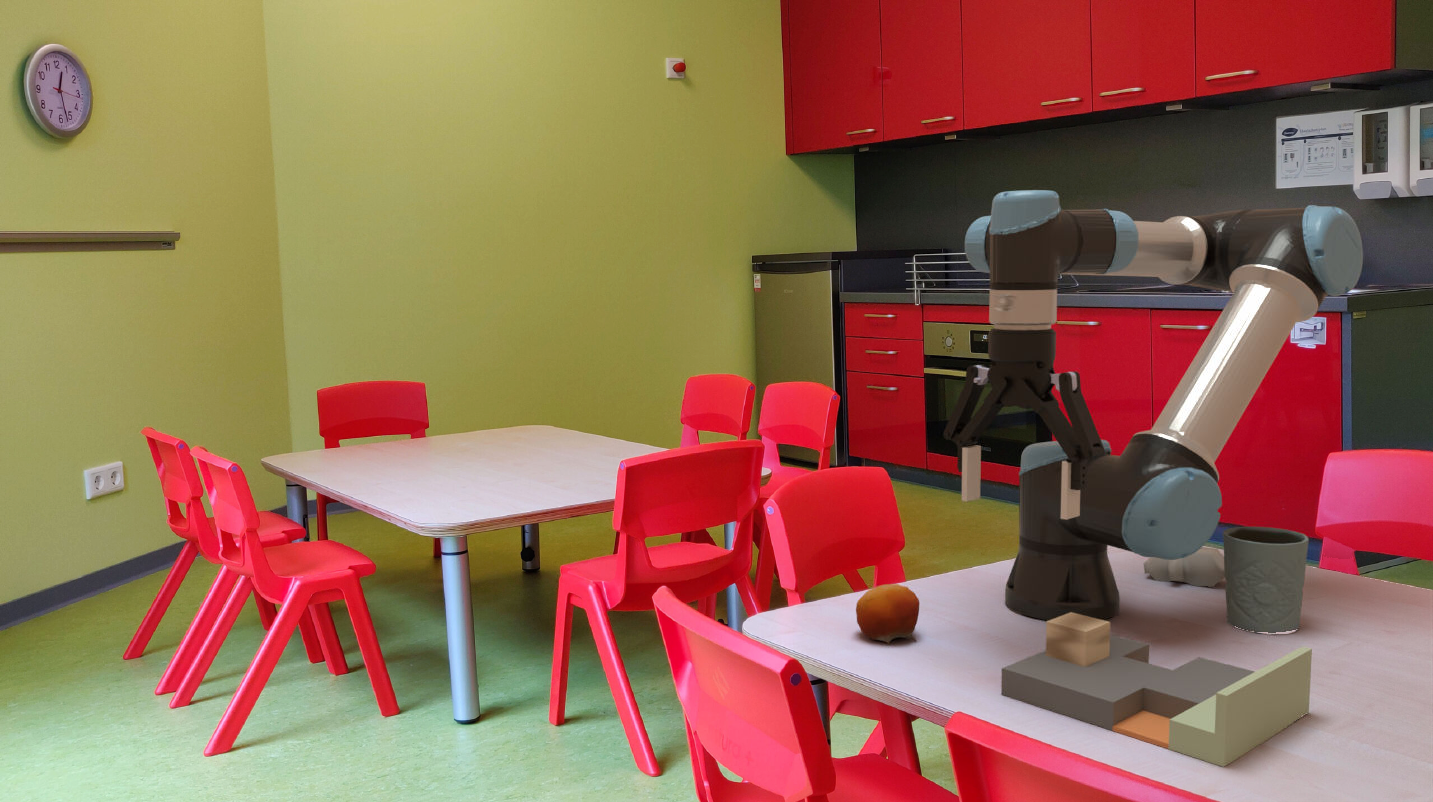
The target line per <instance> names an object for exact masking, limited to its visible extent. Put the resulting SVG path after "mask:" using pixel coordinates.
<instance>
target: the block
mask: <svg viewBox="0 0 1433 802" xmlns="http://www.w3.org/2000/svg"><path fill="white" fill-rule="evenodd" d="M1045 625H1046V627H1045V628H1046V633H1045V650H1046V656H1049V657H1052V658H1056V659H1059V660H1063V661H1066V662H1070V663H1073V664H1077V665H1080V666H1084V667H1086V666H1088V665H1091V664H1093V663H1095V662H1097V661H1100V660H1102V659H1104V658H1106V657H1109V650H1110V634H1111V622H1110V621H1108V620H1105V619H1103V620H1100V619H1096V618H1092V617H1088V616H1084V615H1080V614H1076V613H1072V612H1070V613H1068V614H1065V615H1062V616H1060V617H1057V618H1054V619H1052V620H1046V624H1045Z"/></svg>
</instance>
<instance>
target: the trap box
mask: <svg viewBox="0 0 1433 802" xmlns="http://www.w3.org/2000/svg"><path fill="white" fill-rule="evenodd" d="M1312 651H1313V649H1312V648H1310V647H1305V646H1301V647H1300V646H1299V648H1297V649H1295V650H1293V651H1290V652H1289V653H1287V654H1286V655H1284V656H1281V657H1280V658H1278V659H1277V660H1274V661H1272V662H1270V663H1269V664H1267V665H1265V666H1264V667H1261V668H1259V669H1258V670H1255V671H1254V670H1251V669H1247V668H1244V667H1243V668H1242V667H1238V666H1235V665H1231V664H1228V663H1227V664H1226V663H1224V662H1219V661H1216V660H1211V659H1208V658H1203V657H1200V656H1199V657H1196V658H1194V659H1193V660H1190V661H1189V662H1186V663H1184V664H1182V665H1180V666H1177V667H1176V668H1174V669H1170V668H1166V667H1163V666H1159V665H1156V664H1152V663H1150V662H1149V661H1150V660H1149V659H1150V644H1149V643H1146V642H1142V641H1138V640H1134V639H1130V638H1127V637H1124V636H1123V637H1122V636H1119V635H1116V634H1111V633H1110V650H1109V657H1106V658H1104V659H1102V660H1100V661H1097V662H1095V663H1093V664H1091V665H1088V666H1086V667H1084V666H1080V665H1077V664H1073V663H1070V662H1066V661H1063V660H1059V659H1056V658H1052V657H1049V656H1046V649H1045V650H1043V651H1041V652H1038V653H1036V654H1033V655H1031V656H1028V657H1026V658H1023V659H1021V660H1019V661H1016V662H1014V663H1011V664H1009V665H1007V666H1004V667H1001V686H1000V687H1001V691H1000V693H1001V695H1002V696H1006V697H1009V698H1012V699H1014V700H1018V701H1020V702H1024V703H1027V704H1030V705H1033V706H1036V707H1040V708H1042V709H1045V710H1047V711H1052V712H1054V713H1058V714H1061V715H1064V716H1066V717H1070V718H1073V719H1075V720H1079V721H1081V722H1085V723H1087V724H1088V723H1089V724H1091V725H1094V726H1097V727H1100V728H1104V729H1107V730H1110V731H1112V732H1115V733H1118V734H1122V735H1124V736H1128V737H1131V738H1134V739H1137V740H1140V741H1143V742H1146V743H1149V744H1152V745H1156V746H1157V747H1162V748H1164V749H1168V750H1170V751H1174V752H1177V753H1179V754H1183V755H1185V756H1188V757H1191V758H1192V757H1193V758H1196V759H1198V760H1201V761H1204V762H1207V763H1210V764H1214V765H1216V766H1220V767H1223V768H1224V767H1226V766H1228V765H1229V764H1231V763H1232V762H1234V761H1236V760H1237V759H1239V758H1240V757H1242V756H1244V755H1246V754H1247V753H1248V752H1250V751H1251V750H1253V749H1255V748H1256V747H1258V746H1259V745H1261V744H1263V743H1264V742H1266V741H1267V740H1269V739H1270V738H1272V737H1274V736H1275V735H1276V734H1278V733H1279V732H1282V731H1283V730H1285V729H1286V728H1287V726H1288V725H1289V726H1291V725H1292V724H1294V723H1295V722H1294V721H1296V720H1297V719H1299V718H1300V717H1301V716H1302V715H1304V714H1306V713H1308V711H1309V712H1310V695H1311V694H1310V693H1311V678H1312V677H1311V676H1312V675H1311V674H1312V658H1313V657H1312V654H1313V653H1312ZM1308 714H1309V713H1308ZM1300 719H1301V718H1300ZM1300 719H1299V720H1300ZM1297 721H1298V720H1297ZM1297 721H1296V722H1297ZM1293 722H1294V723H1293ZM1291 723H1292V724H1291ZM1290 724H1291V725H1290ZM1289 726H1288V727H1289ZM1284 728H1285V729H1284Z"/></svg>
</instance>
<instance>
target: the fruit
mask: <svg viewBox="0 0 1433 802" xmlns="http://www.w3.org/2000/svg"><path fill="white" fill-rule="evenodd" d="M855 614H856V615H855V616H856V623H857V625H858V626H859V628H860V632H862V634H863V635H865V636H866V637H867V638H869V639H871V640H873V641H882V642H885V643H887V644H888V645H889V644H890V642H891V641H892V640H894V639H898V638H909V639H912V640H913V641H914V642H917V640H916V638H914V637H913V635H912V634H913V633H914V631H915V630H916V626H917V623H918V619H919V616H920V615H919V614H920V599H919V598H918V597H917V595H916V593H915V592H914V591H912V589H910V588H909V587H908V586H905V585H904V586H903V585H901V584H897V583H891V584H881V585H878V586H875V587H873V588H871V589H869V590H867V591H866V592H865V593H864V594H863V595H861V597H860V598H859V599H858V600H857V602H856V605H855Z"/></svg>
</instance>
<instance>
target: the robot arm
mask: <svg viewBox="0 0 1433 802" xmlns="http://www.w3.org/2000/svg"><path fill="white" fill-rule="evenodd" d="M1361 237H1362V236H1361V234H1360V230H1359V228H1358V226H1357V223H1356V222H1355V220H1354V219H1353V218H1352V216H1351V215H1350V214H1349V213H1348V212H1346V210H1344V209H1342V208H1341V207H1338V206H1337V207H1336V206H1321V205H1319V206H1318V205H1315V204H1311V205H1307V207H1285V208H1263V209H1261V208H1260V209H1258V208H1257V209H1238V210H1231V211H1225V212H1223V211H1222V212H1217V213H1211V214H1205V215H1203V214H1202V215H1194V216H1188V215H1187V216H1185V215H1184V216H1183V215H1177V216H1173V217H1169V218H1168V219H1166V220H1165V221H1163V222H1160V221H1159V222H1158V221H1143V220H1142V221H1140V220H1133V219H1132V217H1131V216H1129V215H1128V214H1127V213H1124V212H1122V211H1119V210H1110V209H1108V208H1101V209H1100V208H1099V209H1062V207H1061V205H1060V196H1059V194H1058V193H1057V192H1056V191H1055V190H1049V189H1048V190H1045V189H1043V190H1041V189H1039V190H1038V189H1032V190H1029V189H1028V190H1027V189H1026V190H1012V191H1011V190H1009V191H1002V192H998V193H997V194H996V195H995V196H994V197H993V199H992V202H991V211H990V215H985V216H981V217H979V218H977V219H976V220H974V221H973V222H972V223H971V224H970V226H969V227H968V229H967V230H966V234H965V236H964V238H965V239H964V253H965V256H966V259H967V261H968V263H969V264H970V266H972V267H973V268H974V269H975V270H977V271H979V272H981V273H988V274H989V304H988V305H989V311H988V312H989V316H988V322H989V323H990V324H991V325H994V328H991V329H990V331H988V350H987V351H988V355H987V356H988V358H989V360H990V366H989V367H987V366H986V365H984V364H977V365H970V366H969V365H968V367H966V371H965V381H964V382H965V383H964V385H963V388H962V390H961V392H960V393H959V396H958V398H957V401H956V403H955V406H954V408H953V410H952V412H951V414H950V417H949V419H948V422H947V424H946V426H945V429H944V431H943V438H944V439H945V440H950V441H952V442H953V443H955V445H956V447H957V463H956V464H957V465H956V466H957V470H958V472H959V473H961V502H971V501H975V500H979V499H981V471H982V469H981V467H982V466H981V465H982V464H981V463H982V462H981V459H982V446H981V445H976V444H978V442H979V441H978V439H979V438H980V437H981V435H982V434H983V433H984V431H985V430H986V429H987V428H988V426H989V425H990V424H991V423H992V422H993V420H994V419H995V418H996V417H997V415H998V414H999V413H1000V411H1001V410H1002V409H1003V408H1004V407H1005V408H1012V407H1018V408H1020V409H1024V410H1029V409H1033V411H1034V412H1035V413H1036V414H1038V415H1039V417H1040V418H1041V420H1042V421H1043V422H1044V423H1045V425H1046V426H1047V428H1048V429H1049V431H1050V433H1051V434H1052V435H1053V437H1054V438H1055V441H1054V440H1053V441H1045V442H1037V443H1032V444H1029V445H1027V446H1026V447H1025V448H1024V449H1023V451H1022V453H1021V457H1020V458H1021V459H1020V471H1019V472H1018V479H1019V480H1018V481H1019V482H1018V484H1019V486H1018V487H1019V489H1018V490H1019V491H1018V492H1019V494H1018V495H1019V496H1018V498H1019V499H1018V500H1019V501H1018V503H1019V504H1018V505H1019V506H1018V507H1019V508H1018V510H1019V512H1018V513H1019V516H1018V521H1019V522H1018V523H1019V525H1018V526H1019V527H1018V528H1019V529H1018V530H1019V533H1018V536H1019V538H1018V539H1019V541H1018V552H1017V553H1016V556H1015V559H1014V562H1013V566H1012V568H1011V571H1010V574H1009V576H1008V579H1007V581H1006V583H1005V588H1004V589H1005V591H1004V603H1005V605H1006V606H1007V608H1009V609H1010V610H1012V611H1013V612H1015V613H1019V614H1020V615H1023V616H1026V617H1027V616H1028V617H1031V618H1036V619H1039V620H1040V619H1041V620H1046V621H1049V620H1052V619H1054V618H1057V617H1060V616H1062V615H1065V614H1068V613H1070V612H1072V613H1076V614H1080V615H1084V616H1088V617H1092V618H1096V619H1100V620H1107V619H1109V618H1113V617H1114V616H1116V615H1117V614H1119V612H1120V600H1121V599H1120V591H1119V589H1118V586H1117V583H1116V582H1117V581H1116V579H1115V576H1114V571H1113V568H1112V565H1111V562H1110V559H1109V556H1108V547H1112V548H1113V547H1114V548H1116V549H1121V550H1124V551H1127V552H1129V553H1130V552H1131V553H1134V554H1135V555H1138V556H1141V557H1144V558H1154V557H1156V558H1161V559H1166V560H1175V559H1180V558H1185V557H1188V556H1190V555H1192V554H1193V553H1195V552H1196V551H1198V550H1199V549H1200V548H1202V547H1205V545H1206V543H1208V541H1209V540H1210V539H1211V537H1212V536H1213V535H1214V533H1215V531H1216V528H1217V527H1218V524H1219V521H1220V518H1221V514H1222V513H1220V512H1219V511H1218V510H1219V509H1220V508H1221V507H1222V506H1223V500H1222V497H1223V496H1222V493H1221V489H1220V486H1219V485H1218V483H1219V480H1220V474H1219V471H1218V469H1217V467H1216V466H1217V465H1216V464H1215V462H1216V460H1217V459H1218V457H1219V456H1220V453H1221V452H1222V450H1223V448H1224V446H1225V445H1226V444H1227V443H1228V440H1229V439H1230V437H1231V435H1232V433H1233V431H1234V430H1235V428H1236V427H1237V424H1238V422H1239V421H1240V419H1241V418H1242V416H1243V414H1244V412H1245V411H1246V409H1247V407H1248V406H1249V404H1250V402H1251V400H1252V399H1253V397H1254V395H1255V394H1256V392H1257V390H1258V389H1259V387H1260V385H1261V383H1262V381H1263V380H1264V378H1265V377H1266V374H1267V373H1268V371H1269V370H1270V368H1271V366H1272V365H1273V363H1274V361H1275V359H1276V358H1277V356H1278V355H1279V352H1280V351H1281V349H1282V348H1283V345H1284V344H1285V343H1286V340H1287V339H1288V337H1289V336H1290V333H1292V330H1293V329H1294V326H1295V325H1296V323H1302V322H1305V321H1309V320H1310V319H1312V318H1313V317H1314V316H1315V315H1316V314H1317V312H1318V310H1320V309H1319V308H1320V307H1321V305H1322V304H1323V302H1324V300H1325V299H1326V298H1327V297H1328V296H1331V297H1339V296H1341V295H1346V294H1348V293H1350V292H1351V291H1352V290H1353V289H1354V288H1355V286H1356V285H1357V283H1358V281H1359V280H1360V279H1359V278H1360V276H1361V273H1362V271H1363V270H1362V269H1363V262H1364V260H1363V259H1364V249H1363V242H1362V238H1361ZM1059 275H1073V276H1075V275H1078V276H1079V275H1080V276H1083V275H1084V276H1087V275H1088V276H1112V277H1113V276H1116V277H1117V276H1120V277H1121V276H1122V277H1150V278H1152V277H1155V278H1156V277H1157V278H1159V279H1160V280H1161V281H1162V282H1164V283H1167V284H1170V285H1181V286H1183V285H1184V286H1192V287H1199V288H1204V289H1211V290H1216V291H1221V292H1222V291H1223V292H1230V293H1232V295H1231V297H1230V298H1229V299H1228V301H1227V303H1226V305H1225V306H1224V308H1223V310H1222V311H1221V313H1220V315H1219V317H1218V318H1217V320H1216V321H1215V323H1214V325H1213V327H1212V328H1211V329H1210V331H1209V333H1208V335H1207V337H1206V338H1205V340H1204V342H1203V343H1202V345H1201V346H1200V348H1199V350H1198V351H1197V353H1196V355H1194V357H1193V360H1192V361H1191V363H1190V365H1189V366H1188V368H1187V370H1186V371H1185V373H1184V375H1183V376H1182V378H1181V379H1180V381H1179V383H1178V384H1177V386H1176V387H1175V389H1174V391H1173V392H1172V394H1171V396H1170V397H1169V399H1168V401H1167V402H1166V404H1165V406H1164V408H1163V409H1162V411H1161V413H1160V414H1159V415H1158V418H1157V419H1156V421H1155V423H1154V424H1153V426H1152V427H1151V429H1150V430H1143V431H1139V432H1136V433H1135V434H1133V435H1132V436H1131V438H1130V440H1129V442H1128V443H1127V445H1126V446H1125V448H1124V450H1123V451H1122V453H1121V454H1120V455H1116V454H1115V455H1114V454H1112V448H1111V445H1110V442H1109V441H1107V440H1106V439H1101V437H1100V435H1099V432H1098V429H1097V427H1096V425H1095V423H1094V419H1093V418H1092V415H1091V412H1090V409H1089V407H1088V406H1087V402H1086V401H1085V397H1084V395H1083V392H1082V385H1081V383H1082V382H1081V376H1080V373H1079V372H1078V371H1076V370H1075V371H1074V370H1073V371H1067V372H1066V371H1065V372H1061V373H1056V372H1055V367H1054V364H1055V363H1054V362H1055V359H1056V356H1057V355H1056V352H1057V346H1056V345H1057V331H1055V329H1054V328H1052V325H1055V324H1056V323H1057V321H1058V319H1057V316H1058V315H1057V314H1058V313H1057V311H1058V310H1057V309H1058V279H1059V278H1058V277H1059ZM988 382H989V384H990V386H991V388H992V389H991V390H990V391H989V393H988V394H986V397H985V398H984V399H983V403H982V404H981V406H980V407H979V408H978V410H977V411H976V412H975V413H974V411H975V410H976V407H977V405H978V403H979V401H980V398H981V395H982V393H983V392H984V389H985V385H986V384H987V383H988ZM1054 386H1055V390H1057V391H1058V392H1059V395H1060V399H1061V402H1062V404H1063V406H1064V409H1065V411H1066V414H1067V416H1068V418H1067V416H1066V415H1065V413H1064V412H1063V410H1062V409H1061V408H1060V403H1059V401H1058V400H1057V398H1056V396H1055V395H1054V394H1053V392H1052V390H1053V389H1054ZM973 414H974V415H973ZM1068 419H1069V420H1068ZM974 444H975V445H974Z"/></svg>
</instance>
